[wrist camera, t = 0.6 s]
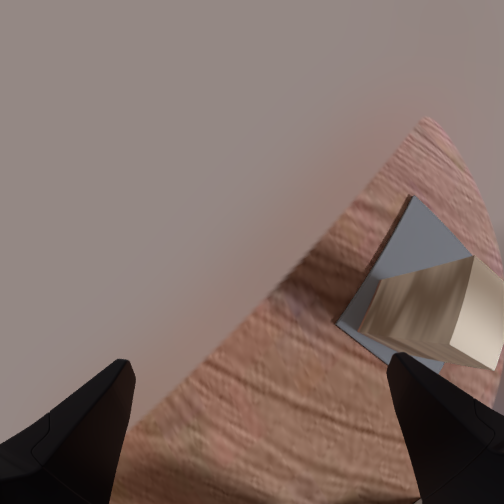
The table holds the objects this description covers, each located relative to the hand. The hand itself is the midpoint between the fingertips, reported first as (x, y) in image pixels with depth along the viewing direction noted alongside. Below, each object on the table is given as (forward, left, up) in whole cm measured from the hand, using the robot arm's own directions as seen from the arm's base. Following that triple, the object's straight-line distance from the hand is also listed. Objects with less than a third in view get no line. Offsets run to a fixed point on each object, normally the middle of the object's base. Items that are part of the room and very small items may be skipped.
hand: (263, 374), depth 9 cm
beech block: (-9, -8, -14) cm, 19 cm away
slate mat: (-12, -13, -14) cm, 23 cm away
